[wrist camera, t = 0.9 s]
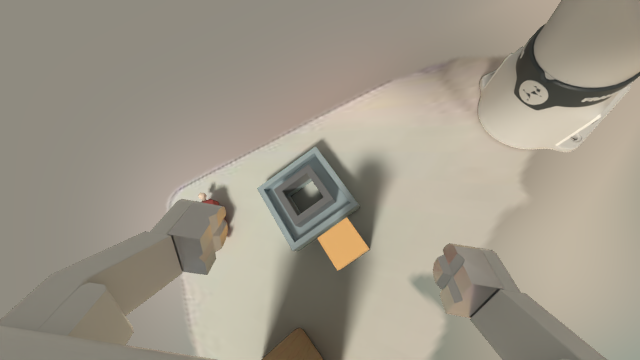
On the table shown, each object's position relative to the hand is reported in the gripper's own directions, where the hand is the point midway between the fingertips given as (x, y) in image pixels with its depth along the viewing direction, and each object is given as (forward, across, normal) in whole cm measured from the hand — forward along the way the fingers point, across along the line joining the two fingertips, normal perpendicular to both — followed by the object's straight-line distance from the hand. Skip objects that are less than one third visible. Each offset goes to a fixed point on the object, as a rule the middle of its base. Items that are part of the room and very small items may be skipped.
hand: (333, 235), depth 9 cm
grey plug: (+23, -7, +26) cm, 36 cm away
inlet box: (+30, +2, +24) cm, 39 cm away
